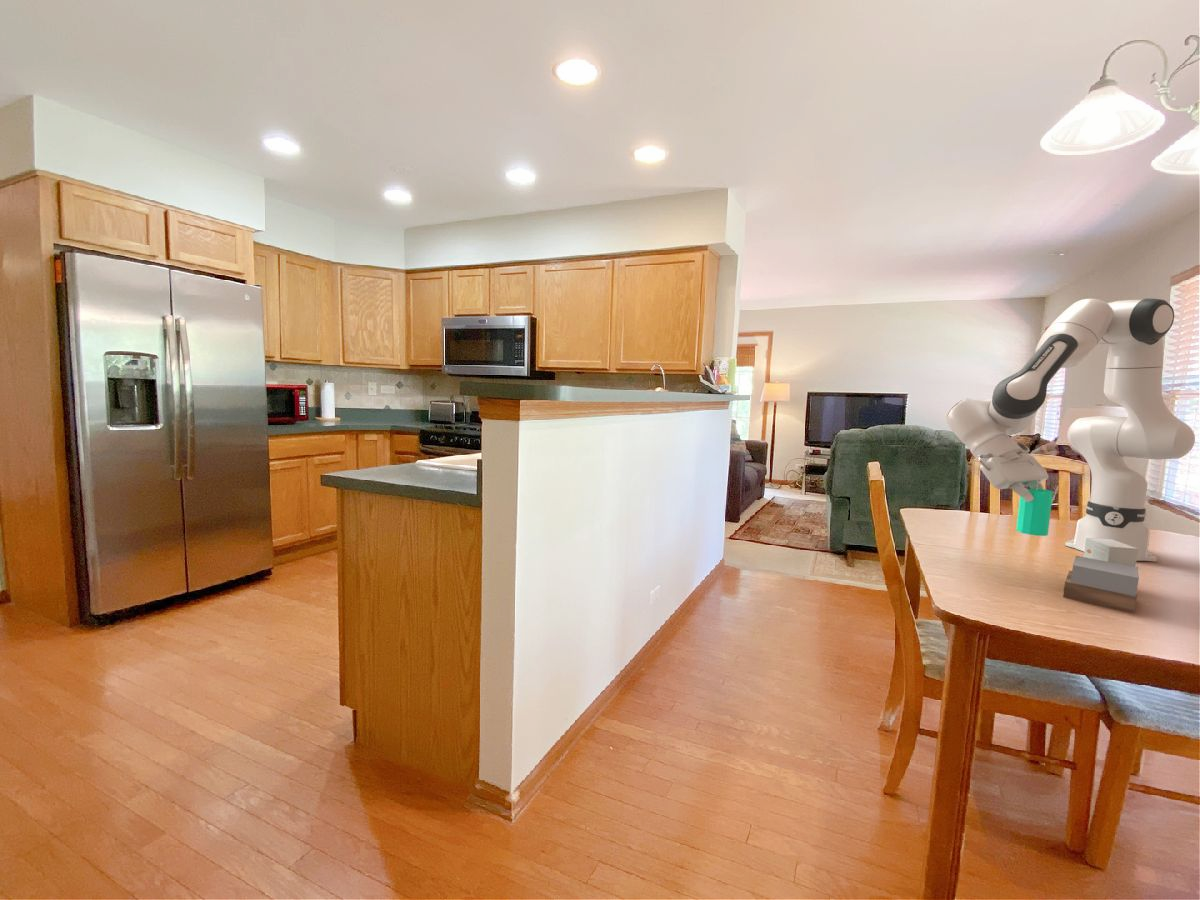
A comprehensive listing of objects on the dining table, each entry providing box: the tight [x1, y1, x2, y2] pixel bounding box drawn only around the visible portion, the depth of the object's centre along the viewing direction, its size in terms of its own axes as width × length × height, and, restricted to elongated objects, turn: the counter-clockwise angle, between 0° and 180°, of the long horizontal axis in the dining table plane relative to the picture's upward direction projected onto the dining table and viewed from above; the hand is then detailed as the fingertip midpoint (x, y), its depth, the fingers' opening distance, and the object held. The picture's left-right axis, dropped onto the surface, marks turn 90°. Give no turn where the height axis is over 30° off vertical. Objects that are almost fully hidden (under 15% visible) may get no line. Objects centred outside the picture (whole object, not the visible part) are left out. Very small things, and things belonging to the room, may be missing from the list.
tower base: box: [1062, 570, 1138, 614], centre depth 115 cm, size 11×11×4 cm
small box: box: [1083, 538, 1138, 567], centre depth 123 cm, size 8×6×10 cm
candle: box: [1015, 484, 1054, 537], centre depth 127 cm, size 6×6×12 cm
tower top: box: [1071, 555, 1140, 597], centre depth 114 cm, size 10×10×4 cm
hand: (1038, 499), depth 126 cm, fingers closed on candle, 5 cm apart
